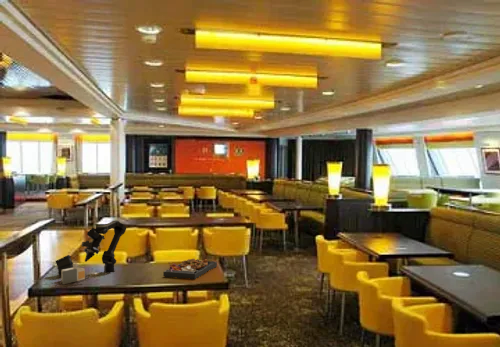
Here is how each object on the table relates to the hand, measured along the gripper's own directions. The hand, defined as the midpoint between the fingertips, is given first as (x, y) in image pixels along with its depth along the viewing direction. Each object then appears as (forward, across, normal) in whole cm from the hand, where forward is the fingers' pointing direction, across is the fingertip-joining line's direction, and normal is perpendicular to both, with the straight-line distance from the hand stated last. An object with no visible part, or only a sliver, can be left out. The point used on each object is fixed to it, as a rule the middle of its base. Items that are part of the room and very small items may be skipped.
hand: (85, 261), depth 355 cm
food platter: (-26, +19, +71) cm, 78 cm away
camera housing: (+14, -2, -1) cm, 15 cm away
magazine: (+13, -19, -4) cm, 23 cm away
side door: (+18, +6, -4) cm, 19 cm away
